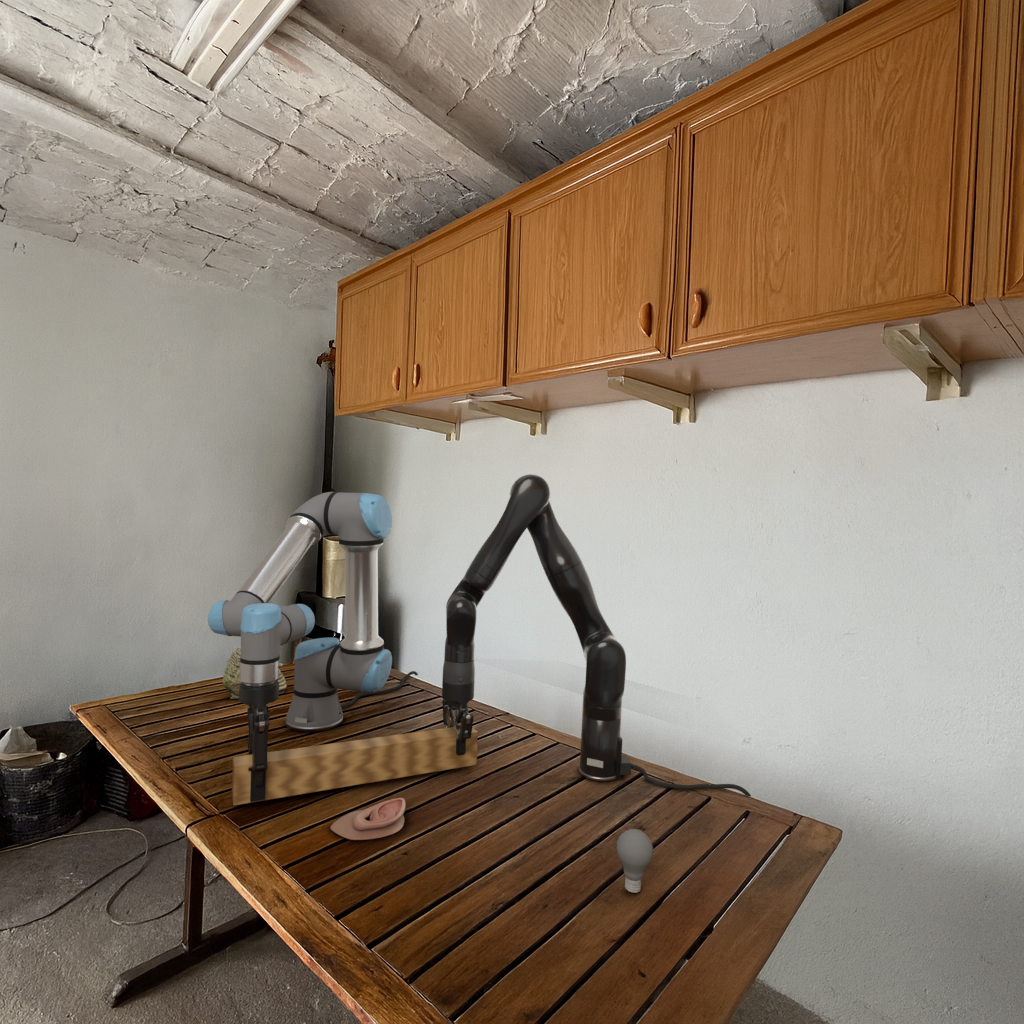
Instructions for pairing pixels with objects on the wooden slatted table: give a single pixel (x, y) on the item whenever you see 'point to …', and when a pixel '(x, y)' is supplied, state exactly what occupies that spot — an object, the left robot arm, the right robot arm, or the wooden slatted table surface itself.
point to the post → (353, 763)
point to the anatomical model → (372, 821)
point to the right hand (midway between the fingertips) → (455, 749)
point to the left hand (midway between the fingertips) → (256, 793)
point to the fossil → (232, 675)
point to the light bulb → (634, 857)
